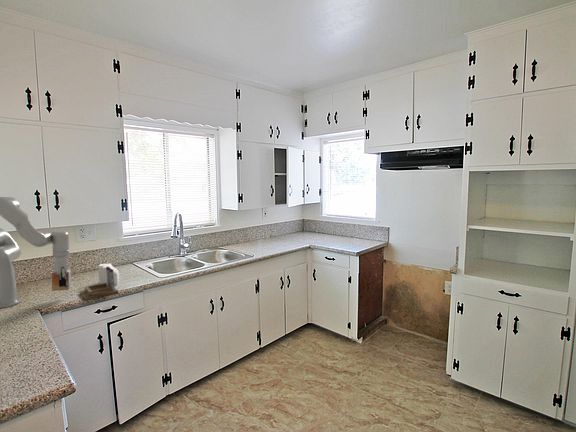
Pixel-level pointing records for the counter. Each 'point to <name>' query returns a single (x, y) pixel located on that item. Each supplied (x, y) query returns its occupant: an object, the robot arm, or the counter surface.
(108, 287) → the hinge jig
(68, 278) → the small box
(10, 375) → the counter surface
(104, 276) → the corner bracket
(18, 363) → the counter surface
